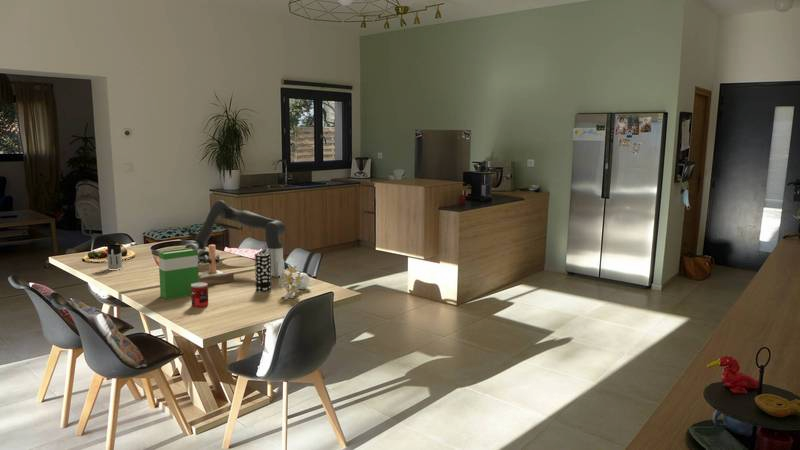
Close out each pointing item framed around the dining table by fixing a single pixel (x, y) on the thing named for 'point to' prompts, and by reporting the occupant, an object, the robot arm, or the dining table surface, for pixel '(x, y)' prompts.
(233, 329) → the dining table surface
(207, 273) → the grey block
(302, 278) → the flower vase
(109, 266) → the black capped bottle
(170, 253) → the green box
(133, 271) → the dining table surface
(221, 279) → the walnut track
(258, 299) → the dining table surface
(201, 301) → the canned food
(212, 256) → the terracotta dowel
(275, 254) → the robot arm
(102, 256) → the wooden plate with food
